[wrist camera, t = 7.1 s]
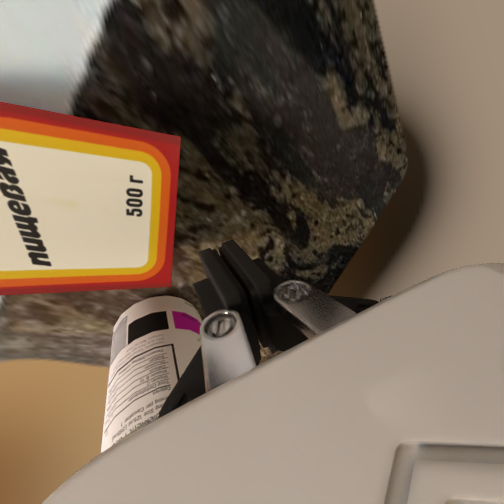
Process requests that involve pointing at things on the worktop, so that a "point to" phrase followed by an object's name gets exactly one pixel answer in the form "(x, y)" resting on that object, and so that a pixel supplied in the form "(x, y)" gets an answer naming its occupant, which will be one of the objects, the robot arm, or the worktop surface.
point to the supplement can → (147, 361)
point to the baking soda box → (84, 203)
